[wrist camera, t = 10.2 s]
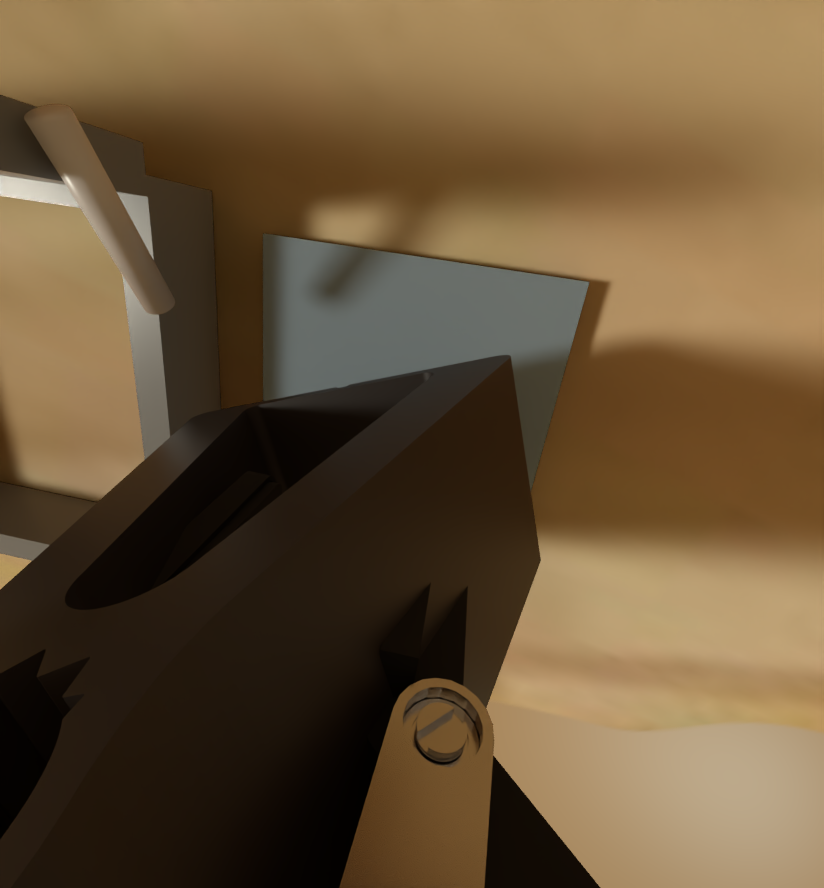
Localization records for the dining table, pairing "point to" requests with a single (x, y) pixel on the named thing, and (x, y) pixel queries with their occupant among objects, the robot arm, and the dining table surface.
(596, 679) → the dining table surface
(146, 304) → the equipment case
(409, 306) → the slate mat
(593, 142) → the dining table surface
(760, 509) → the dining table surface
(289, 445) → the phone stand
